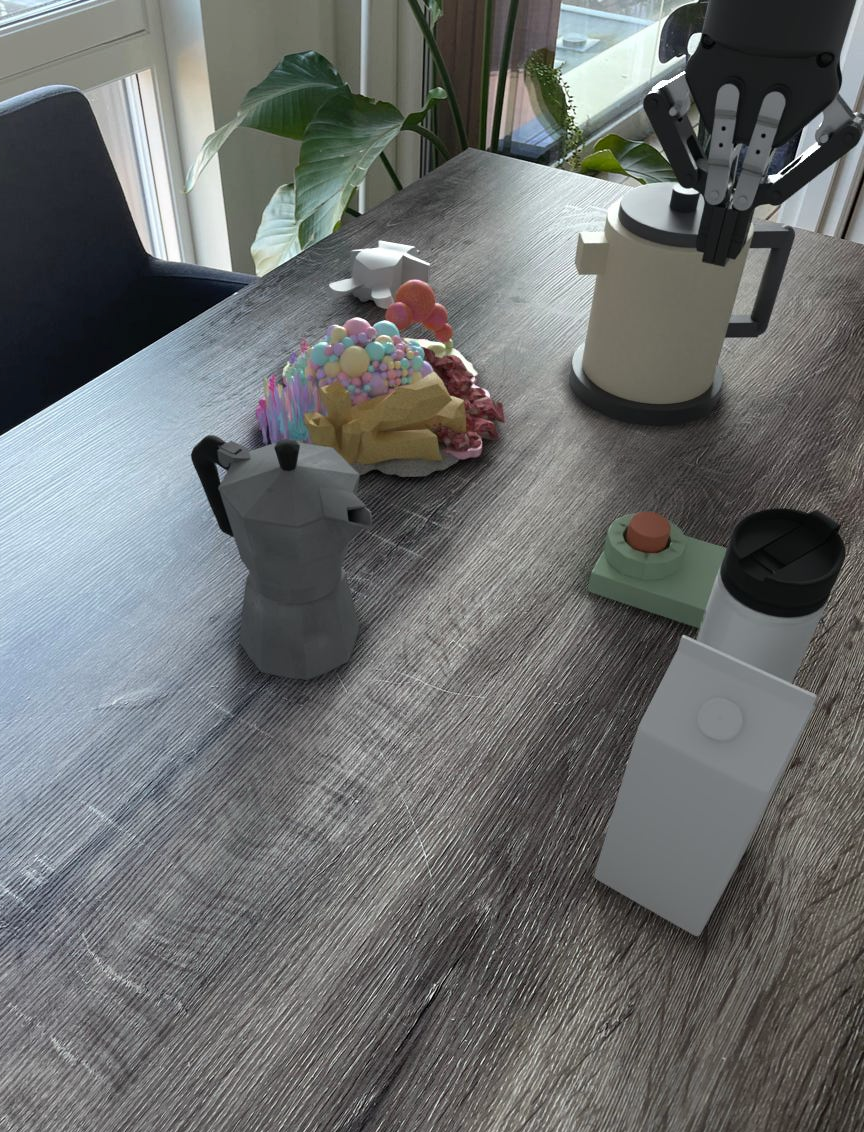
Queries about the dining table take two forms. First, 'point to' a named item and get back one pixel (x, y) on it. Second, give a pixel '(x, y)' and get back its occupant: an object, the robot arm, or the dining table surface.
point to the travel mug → (773, 588)
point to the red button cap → (648, 532)
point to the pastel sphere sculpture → (384, 393)
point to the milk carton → (699, 781)
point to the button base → (658, 574)
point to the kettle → (664, 308)
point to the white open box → (381, 273)
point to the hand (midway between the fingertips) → (715, 259)
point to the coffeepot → (289, 548)
